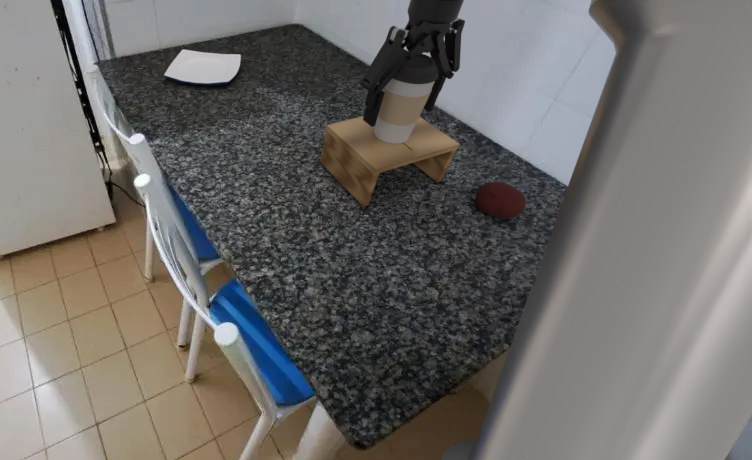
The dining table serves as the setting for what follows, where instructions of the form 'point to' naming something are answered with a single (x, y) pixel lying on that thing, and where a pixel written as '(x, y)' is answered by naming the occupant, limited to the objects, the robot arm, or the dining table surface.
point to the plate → (203, 68)
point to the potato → (500, 200)
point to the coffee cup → (405, 99)
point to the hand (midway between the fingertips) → (397, 115)
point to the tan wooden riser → (382, 154)
